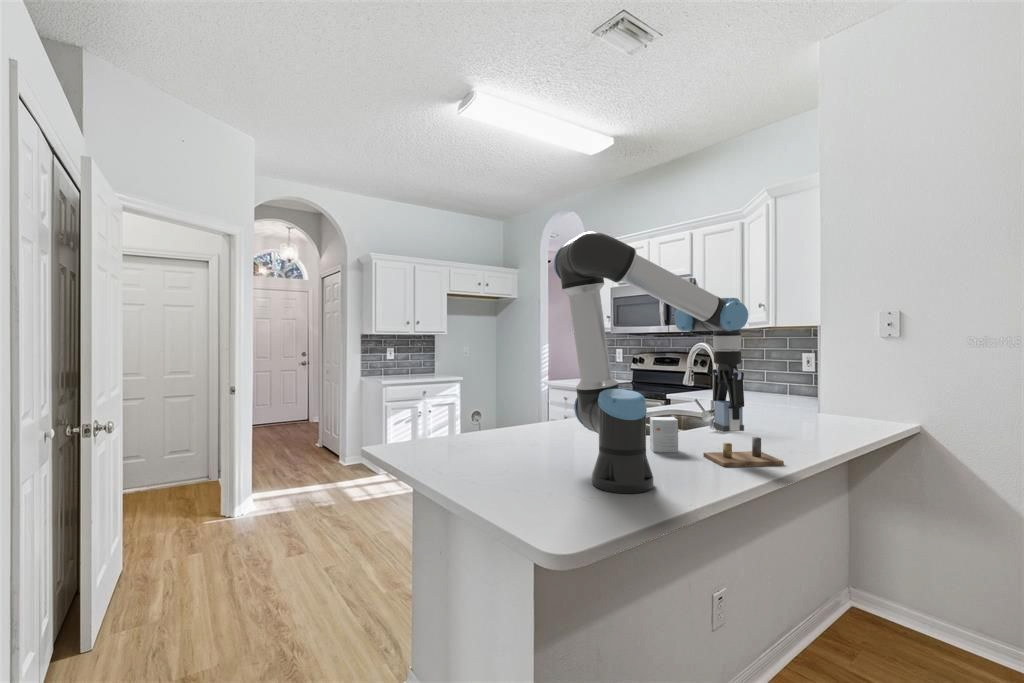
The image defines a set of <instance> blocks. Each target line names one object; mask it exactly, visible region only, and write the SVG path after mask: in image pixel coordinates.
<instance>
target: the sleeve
mask: <svg viewBox="0 0 1024 683" xmlns="http://www.w3.org/2000/svg"><path fill="white" fill-rule="evenodd" d="M729 406H731V405H730V400H726V401H714V421H713V423H712V424H713V427H712V428H714V429H716V430H719V431H721V432H723V433H727V432H730V431H729V408H728V407H729ZM743 408H744V407H741V408H740V409H739V423H740V431H739V432H744V431H745V425H744V424H743V422H744V421H743V416H744V415H743V414H744V413H743Z"/></svg>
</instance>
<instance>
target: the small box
mask: <svg viewBox="0 0 1024 683" xmlns="http://www.w3.org/2000/svg"><path fill="white" fill-rule="evenodd" d="M649 448H650V449H651V450H652V452H653V453H679V420H678V419H677V418H676V417H674V416H673V417H672V416H650V417H649Z"/></svg>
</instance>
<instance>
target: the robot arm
mask: <svg viewBox="0 0 1024 683" xmlns="http://www.w3.org/2000/svg"><path fill="white" fill-rule="evenodd" d="M553 268H554V272H555V273H556V275H557V277H558V278H559V279H560V281H561V282H560V283H561V290H562V292H563V293H565V294H566V295H567V296H568V299H569V308H570V314H571V321H572V322H571V323H572V330H573V335H574V344H575V350H576V351H575V352H576V355H577V356H576V357H577V364H578V371H579V379H580V381H579V382H578V383H577V385H576V386H575V388H576V396H577V397H576V398H575V400H574V405H573V408H574V409H573V410H574V411H573V412H574V414H575V417H576V419H577V420H578V422H579V423H580V424H581V425H582V426H583V427H584V428H586V429H587V430H589V431H591V432H594V433H596V434H598V455H597V458H596V461H595V464H594V468H593V471H592V473H591V474H592V475H591V483H592V485H593V486H594V487H595V488H597V489H599V490H601V491H606V492H610V493H617V494H640V493H644V492H648V491H650V490H652V489H653V488H654V484H655V482H654V475H653V472H652V470H651V467H650V463H649V460H648V457H647V412H648V411H647V404H646V398H645V396H644V395H643V394H642V393H640V392H637V391H635V390H628V389H625V388H624V389H623V388H620V387H619V381H617V379H615V378H614V377H613V376H612V370H611V363H610V358H609V357H610V356H609V348H608V342H607V341H608V340H607V336H606V327H605V319H604V312H603V307H602V306H603V305H602V297H601V289H602V288H603V287H604V285H605V280H606V279H607V280H609V281H611V282H613V283H616V284H617V283H618V284H619V283H621V282H623V283H624V284H627V285H628V286H630V287H633V288H635V289H637V290H638V291H641V292H642V293H645V294H647V295H649V296H651V297H653V298H655V299H657V300H659V301H661V302H663V303H664V304H667V305H669V306H671V307H673V308H675V309H676V311H675V312H674V324H675V326H676V328H677V330H679V331H681V332H689V333H690V332H706V331H707V332H711V331H712V333H713V336H712V338H713V339H712V340H713V341H712V343H713V350H715V351H713V363H714V364H716V365H717V368H716V369H712V375H713V378H712V379H713V386H712V387H713V388H712V392H713V393H712V401H713V402H715V401H727V396H728V399H729V400H728V401H730V405H731V406H729V407H728V408H729V431H728V432H741V431H740V423H739V409H740V408H741V407H743V408H744V407H745V393H744V392H745V390H744V377H745V375H744V374H745V373H744V372H740V371H739V370H738V365H740V364H742V352H741V351H740V350H741V349H742V329H743V328H744V327H745V326H746V324H747V322H748V319H749V311H748V308H747V307H746V305H745V304H744V303H742V302H741V300H740V299H739V297H719V296H718V295H715V294H713V293H711V292H709V291H707V290H705V289H704V288H702V287H701V286H698V285H696V284H694V283H692V282H690V281H689V280H687V279H685V278H682V276H678V275H677V274H675V273H673V272H671V271H670V270H668V269H666V268H663V267H662V266H660V265H658V264H656V263H654V262H652V261H650V260H649V259H646V258H644V257H643V256H640V255H639V254H637V250H636V248H634V247H632V246H630V245H629V244H627V243H625V242H623V241H621V240H619V239H616V238H615V237H612V236H610V235H608V234H606V233H602V232H598V231H587V232H583V233H581V234H579V235H578V236H576V237H574V238H572V239H569V240H567V241H565V242H564V243H563V244H562V245H561V246H560V247H559V248H558V250H557V251H556V253H555V255H554V259H553Z"/></svg>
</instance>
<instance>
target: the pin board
mask: <svg viewBox="0 0 1024 683" xmlns="http://www.w3.org/2000/svg"><path fill="white" fill-rule="evenodd" d="M702 454H703V455H702V456H703V457H704V458H705V459H708V461H711V462H713V463H715V464H716V465H718V466H720V467H722V468H732V467H734V468H736V467H737V468H738V467H764V466H767V467H770V466H771V467H772V466H784V465H785V462H784V460H783V459H780V458H777V457H775V456H773V455H770V454H768V453H765V452H763V451H762V437H759V436H752V437H751V451H749V450H748V451H733V444H732V443H731V442H723V443H722V451H717V452H703V453H702Z"/></svg>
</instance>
